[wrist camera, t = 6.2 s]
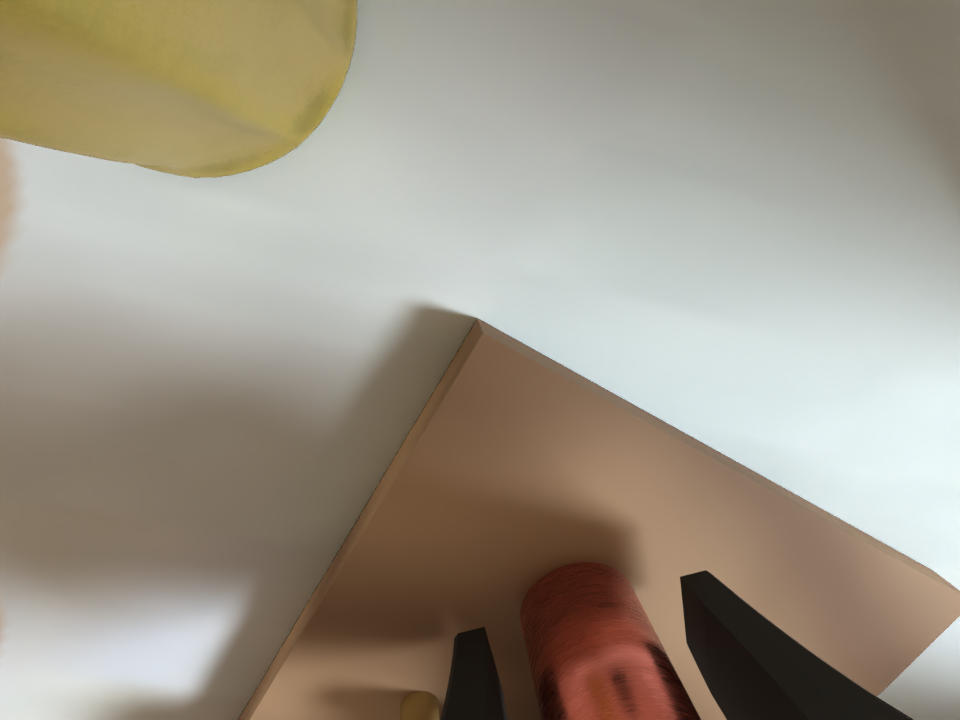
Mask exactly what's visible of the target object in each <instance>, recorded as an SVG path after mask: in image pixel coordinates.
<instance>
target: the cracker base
mask: <svg viewBox="0 0 960 720" xmlns="http://www.w3.org/2000/svg"><path fill="white" fill-rule="evenodd" d="M581 562H594V563H600V564H604V565H608V566H610V567H612V568H614V569H616V570H618V571H619V572H621V573H622V574H623V575H624V576H625V577H626V578H627V579H628V580H629V582H630V584H631V585H632V587H633V589H634V591H635V593H636V595H637V597H638V599H639V601H640V603H641V605H642V607H643V608H644V610H645V612H646V614H647V616H648V618H649V620H650V622H651V624H652V626H653V628H654V630H655V632H656V634H657V635H658V637H659V639H660V641H661V643H662V645H663V647H664V649H665V651H666V653H667V655H668V657H669V659H670V661H671V662H672V664H673V666H674V668H675V670H676V672H677V674H678V676H679V678H680V680H681V682H682V684H683V686H684V688H685V689H686V691H687V693H688V695H689V697H690V699H691V701H692V703H693V705H694V707H695V709H696V711H697V713H698V715H699V716H700V718H701V720H727V719H726V718H725V716H724V714H723V713H722V711H721V709H720V708H719V706H718V704H717V703H716V701H715V699H714V698H713V696H712V694H711V693H710V691H709V689H708V687H707V685H706V683H705V681H704V679H703V677H702V675H701V673H700V670H699V668H698V666H697V664H696V662H695V660H694V658H693V656H692V654H691V652H690V649H689V647H688V645H687V643H686V633H685V623H684V613H683V603H682V593H681V583H680V577H681V576H685V575H689V574H693V573H697V572H701V571H705V570H707V571H708V572H710V573H711V574H713V575H714V576H715V577H716V578H717V579H719V580H720V581H721V582H722V583H723V584H725V585H726V586H727V587H728V588H729V589H731V590H732V591H733V592H734V593H735V594H737V595H738V596H739V597H740V598H742V599H743V600H744V601H745V602H746V603H748V604H749V605H750V606H751V607H753V608H754V609H755V610H757V611H758V612H759V613H760V614H762V615H763V616H764V617H765V618H767V619H768V620H769V621H771V622H772V623H773V624H774V625H776V626H777V627H778V628H780V629H781V630H782V631H784V632H785V633H786V634H788V635H789V636H790V637H792V638H793V639H794V640H796V641H797V642H798V643H800V644H801V645H802V646H804V647H805V648H806V649H808V650H809V651H811V652H812V653H813V654H815V655H816V656H818V657H819V658H820V659H822V660H823V661H825V662H826V663H827V664H829V665H830V666H832V667H833V668H835V669H836V670H838V671H839V672H840V673H842V674H843V675H845V676H846V677H848V678H849V679H851V680H852V681H854V682H855V683H857V684H858V685H860V686H861V687H863V688H864V689H866V690H867V691H869V692H870V693H872V694H873V695H875V696H876V697H877V696H878V695H879V694H880V693H881V692H882V691H883V690H884V689H885V688H886V687H887V686H888V685H889V684H891V683H892V682H893V681H894V680H895V679H896V678H897V677H898V676H899V675H900V674H901V673H902V672H903V671H904V670H905V669H906V668H907V667H908V666H909V665H910V664H911V663H912V662H913V661H914V660H915V659H916V658H917V657H918V656H919V655H920V654H921V653H922V652H923V651H924V650H925V649H926V648H927V647H928V646H929V645H930V644H931V643H932V642H933V641H934V640H935V639H936V638H937V637H938V636H940V635H941V634H942V633H943V632H944V631H945V630H946V629H947V628H948V627H949V626H950V625H951V624H952V623H953V622H954V621H955V620H956V619H957V618H958V617H959V616H960V591H959V590H958V589H957V588H955V587H954V586H953V585H951V584H950V583H949V582H947V581H946V580H945V579H943V578H942V577H941V576H939V575H938V574H937V573H935V572H934V571H933V570H931V569H929V568H927V567H925V566H924V565H922V564H920V563H918V562H916V561H915V560H913V559H911V558H909V557H907V556H905V555H904V554H902V553H900V552H898V551H896V550H895V549H893V548H891V547H889V546H887V545H886V544H884V543H882V542H880V541H878V540H877V539H875V538H873V537H871V536H869V535H868V534H866V533H864V532H862V531H860V530H859V529H857V528H855V527H853V526H851V525H850V524H848V523H846V522H844V521H842V520H841V519H839V518H837V517H835V516H833V515H831V514H830V513H828V512H826V511H824V510H822V509H821V508H819V507H817V506H815V505H813V504H812V503H810V502H808V501H806V500H804V499H803V498H801V497H799V496H797V495H795V494H794V493H792V492H790V491H788V490H786V489H785V488H783V487H781V486H779V485H777V484H776V483H774V482H772V481H770V480H768V479H767V478H765V477H763V476H761V475H759V474H758V473H756V472H754V471H752V470H750V469H748V468H747V467H745V466H743V465H741V464H739V463H738V462H736V461H734V460H732V459H730V458H729V457H727V456H725V455H723V454H721V453H720V452H718V451H716V450H714V449H712V448H711V447H709V446H707V445H705V444H703V443H702V442H700V441H698V440H696V439H694V438H693V437H691V436H689V435H687V434H685V433H684V432H682V431H680V430H678V429H676V428H674V427H673V426H671V425H669V424H667V423H665V422H664V421H662V420H660V419H658V418H656V417H655V416H653V415H651V414H649V413H647V412H646V411H644V410H642V409H640V408H638V407H637V406H635V405H633V404H631V403H629V402H628V401H626V400H624V399H622V398H620V397H619V396H617V395H615V394H613V393H611V392H610V391H608V390H606V389H604V388H602V387H600V386H599V385H597V384H595V383H593V382H591V381H590V380H588V379H586V378H584V377H582V376H581V375H579V374H577V373H575V372H573V371H572V370H570V369H568V368H566V367H564V366H563V365H561V364H559V363H557V362H555V361H554V360H552V359H550V358H548V357H546V356H545V355H543V354H541V353H539V352H537V351H536V350H534V349H532V348H530V347H528V346H527V345H525V344H523V343H521V342H519V341H517V340H516V339H514V338H512V337H510V336H508V335H507V334H505V333H503V332H501V331H499V330H498V329H496V328H494V327H492V326H490V325H489V324H487V323H485V322H483V321H481V320H480V319H478V318H477V320H476V322H475V323H474V325H473V327H472V328H471V330H470V332H469V333H468V335H467V337H466V338H465V340H464V342H463V343H462V345H461V347H460V348H459V350H458V352H457V353H456V355H455V357H454V359H453V360H452V362H451V364H450V365H449V367H448V369H447V370H446V372H445V374H444V375H443V377H442V379H441V380H440V382H439V384H438V385H437V387H436V389H435V390H434V392H433V394H432V395H431V397H430V399H429V400H428V402H427V404H426V405H425V407H424V409H423V411H422V412H421V414H420V416H419V417H418V419H417V421H416V422H415V424H414V426H413V427H412V429H411V431H410V432H409V434H408V436H407V437H406V439H405V441H404V442H403V444H402V446H401V447H400V449H399V451H398V452H397V454H396V456H395V457H394V459H393V461H392V463H391V464H390V466H389V468H388V469H387V471H386V473H385V474H384V476H383V478H382V479H381V481H380V483H379V484H378V486H377V488H376V489H375V491H374V493H373V494H372V496H371V498H370V499H369V501H368V503H367V504H366V506H365V508H364V509H363V511H362V513H361V515H360V516H359V518H358V520H357V521H356V523H355V525H354V526H353V528H352V530H351V531H350V533H349V535H348V536H347V538H346V540H345V541H344V543H343V545H342V546H341V548H340V550H339V551H338V553H337V555H336V556H335V558H334V560H333V561H332V563H331V565H330V566H329V568H328V570H327V572H326V573H325V575H324V577H323V578H322V580H321V582H320V583H319V585H318V587H317V588H316V590H315V592H314V593H313V595H312V597H311V598H310V600H309V602H308V603H307V605H306V607H305V608H304V610H303V612H302V613H301V615H300V617H299V618H298V620H297V622H296V624H295V625H294V627H293V629H292V630H291V632H290V634H289V635H288V637H287V639H286V640H285V642H284V644H283V645H282V647H281V649H280V650H279V652H278V654H277V655H276V657H275V659H274V660H273V662H272V664H271V665H270V667H269V669H268V670H267V672H266V674H265V676H264V677H263V679H262V681H261V682H260V684H259V686H258V687H257V689H256V691H255V692H254V694H253V696H252V697H251V699H250V701H249V702H248V704H247V706H246V707H245V709H244V711H243V712H242V714H241V716H240V717H239V719H238V720H440V719H441V715H442V710H443V706H444V702H445V697H446V692H447V687H448V681H449V676H450V670H451V664H452V656H453V648H454V638H455V637H456V635H457V634H458V633H461V632H465V631H469V630H473V629H477V628H481V627H485V630H486V633H487V637H488V640H489V644H490V647H491V651H492V654H493V658H494V661H495V665H496V669H497V672H498V676H499V679H500V683H501V686H502V690H503V695H504V700H505V706H506V712H507V717H508V720H541V715H540V710H539V706H538V701H537V697H536V692H535V687H534V683H533V678H532V674H531V669H530V665H529V660H528V655H527V651H526V646H525V642H524V637H523V632H522V628H521V623H520V610H521V605H522V603H523V600H524V598H525V596H526V594H527V593H528V591H529V590H530V588H531V587H532V586H533V585H534V584H535V583H536V582H537V581H538V580H539V579H540V578H542V577H543V576H545V575H546V574H548V573H549V572H551V571H553V570H555V569H557V568H560V567H562V566H566V565H569V564H574V563H581Z"/></svg>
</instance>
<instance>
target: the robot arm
mask: <svg viewBox="0 0 960 720" xmlns="http://www.w3.org/2000/svg"><path fill="white" fill-rule="evenodd" d="M680 583H681V593H682V603H683V613H684V623H685V633H686V643H687V645H688V647H689V649H690V652H691V654H692V656H693V658H694V660H695V662H696V664H697V666H698V668H699V670H700V673H701V675H702V677H703V679H704V681H705V683H706V685H707V687H708V689H709V691H710V693H711V694H712V696H713V698H714V699H715V701H716V703H717V704H718V706H719V708H720V709H721V711H722V713H723V714H724V716H725V718H726V719H727V720H913V719H912V718H910V717H908V716H907V715H905V714H904V713H902V712H900V711H899V710H897V709H895V708H894V707H892V706H891V705H889V704H887V703H886V702H884V701H883V700H881V699H880V698H878V697H876V696H875V695H873V694H872V693H870V692H869V691H867V690H866V689H864V688H863V687H861V686H860V685H858V684H857V683H855V682H854V681H852V680H851V679H849V678H848V677H846V676H845V675H843V674H842V673H840V672H839V671H838V670H836V669H835V668H833V667H832V666H830V665H829V664H827V663H826V662H825V661H823V660H822V659H820V658H819V657H818V656H816V655H815V654H813V653H812V652H811V651H809V650H808V649H806V648H805V647H804V646H802V645H801V644H800V643H798V642H797V641H796V640H794V639H793V638H792V637H790V636H789V635H788V634H786V633H785V632H784V631H782V630H781V629H780V628H778V627H777V626H776V625H774V624H773V623H772V622H771V621H769V620H768V619H767V618H765V617H764V616H763V615H762V614H760V613H759V612H758V611H757V610H755V609H754V608H753V607H751V606H750V605H749V604H748V603H746V602H745V601H744V600H743V599H742V598H740V597H739V596H738V595H737V594H735V593H734V592H733V591H732V590H731V589H729V588H728V587H727V586H726V585H725V584H723V583H722V582H721V581H720V580H719V579H717V578H716V577H715V576H714V575H713V574H711V573H710V572H708V571H707V570H705V571H701V572H697V573H693V574H689V575H685V576H681V577H680ZM440 720H508V717H507V712H506V706H505V700H504V695H503V690H502V686H501V683H500V679H499V676H498V672H497V669H496V665H495V661H494V658H493V654H492V651H491V647H490V644H489V640H488V637H487V633H486V630H485V627H481V628H477V629H473V630H469V631H465V632H461V633H458V634H457V635H456V637H455V638H454V648H453V656H452V664H451V670H450V676H449V681H448V687H447V692H446V697H445V702H444V706H443V710H442V715H441V719H440Z"/></svg>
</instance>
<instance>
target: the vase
mask: <svg viewBox="0 0 960 720" xmlns="http://www.w3.org/2000/svg"><path fill="white" fill-rule="evenodd" d="M356 25H357V0H0V138H5V139H10V140H15V141H19V142H23V143H28V144H32V145H36V146H41V147H45V148H50V149H55V150H59V151H64V152H69V153H74V154H79V155H84V156H90V157H95V158H100V159H105V160H110V161H116V162H124V163H133V164H136V165H139V166H142V167H145V168H149V169H152V170H156V171H160V172H164V173H171V174H175V175H179V176H186V177H193V178H201V177H222V176H229V175H234V174H238V173H242V172H246V171H250V170H252V169H255V168H258V167H261V166H263V165H266V164H268V163H270V162H273V161H275V160H277V159H279V158H281V157H283V156H284V155H286V154H287V153H289V152H290V151H292V150H293V149H295V148H297V147H298V146H299V145H300V144H301V143H302V142H303V141H304V140H305V139H306V138H307V137H308V136H309V135H310V134H311V133H312V132H313V131H314V130H315V129H316V127H317V126H318V125H319V124H320V123H321V121H322V120H323V118H324V117H325V115H326V114H327V112H328V111H329V109H330V108H331V106H332V104H333V102H334V101H335V99H336V97H337V96H338V94H339V91H340V89H341V87H342V85H343V82H344V80H345V77H346V74H347V72H348V69H349V66H350V62H351V58H352V54H353V49H354V43H355V37H356Z"/></svg>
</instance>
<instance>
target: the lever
mask: <svg viewBox="0 0 960 720" xmlns="http://www.w3.org/2000/svg"><path fill="white" fill-rule="evenodd" d="M520 623H521V628H522V632H523V637H524V642H525V646H526V651H527V655H528V660H529V665H530V669H531V674H532V678H533V683H534V687H535V692H536V697H537V701H538V706H539V710H540V715H541V720H701V718H700V716H699V715H698V713H697V711H696V709H695V707H694V705H693V703H692V701H691V699H690V697H689V695H688V693H687V691H686V689H685V688H684V686H683V684H682V682H681V680H680V678H679V676H678V674H677V672H676V670H675V668H674V666H673V664H672V662H671V661H670V659H669V657H668V655H667V653H666V651H665V649H664V647H663V645H662V643H661V641H660V639H659V637H658V635H657V634H656V632H655V630H654V628H653V626H652V624H651V622H650V620H649V618H648V616H647V614H646V612H645V610H644V608H643V607H642V605H641V603H640V601H639V599H638V597H637V595H636V593H635V591H634V589H633V587H632V585H631V584H630V582H629V580H628V579H627V578H626V577H625V576H624V575H623V574H622V573H621V572H619V571H618V570H616V569H614V568H612V567H610V566H608V565H604V564H600V563H594V562H581V563H574V564H569V565H566V566H562V567H560V568H557V569H555V570H553V571H551V572H549V573H548V574H546V575H545V576H543V577H542V578H540V579H539V580H538V581H537V582H536V583H535V584H534V585H533V586H532V587H531V588H530V590H529V591H528V593H527V594H526V596H525V598H524V600H523V603H522V605H521V610H520Z"/></svg>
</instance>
